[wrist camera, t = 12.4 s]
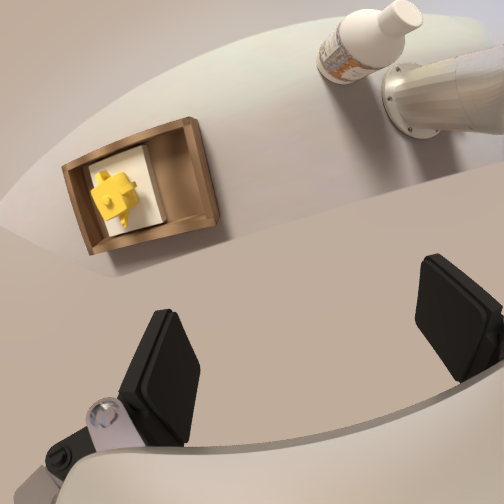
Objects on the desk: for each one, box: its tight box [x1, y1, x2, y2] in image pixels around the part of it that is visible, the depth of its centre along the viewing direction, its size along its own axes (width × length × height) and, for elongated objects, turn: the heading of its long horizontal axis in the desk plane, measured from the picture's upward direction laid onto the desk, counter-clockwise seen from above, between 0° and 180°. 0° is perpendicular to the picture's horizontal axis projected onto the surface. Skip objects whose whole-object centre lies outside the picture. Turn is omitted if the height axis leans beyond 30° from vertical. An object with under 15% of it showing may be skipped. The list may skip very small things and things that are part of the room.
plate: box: [89, 145, 167, 237], centre depth 35 cm, size 9×11×2 cm
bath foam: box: [316, 0, 423, 84], centre depth 21 cm, size 7×7×20 cm
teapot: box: [91, 170, 139, 228], centre depth 32 cm, size 8×6×5 cm
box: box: [62, 117, 220, 255], centre depth 35 cm, size 20×14×5 cm
